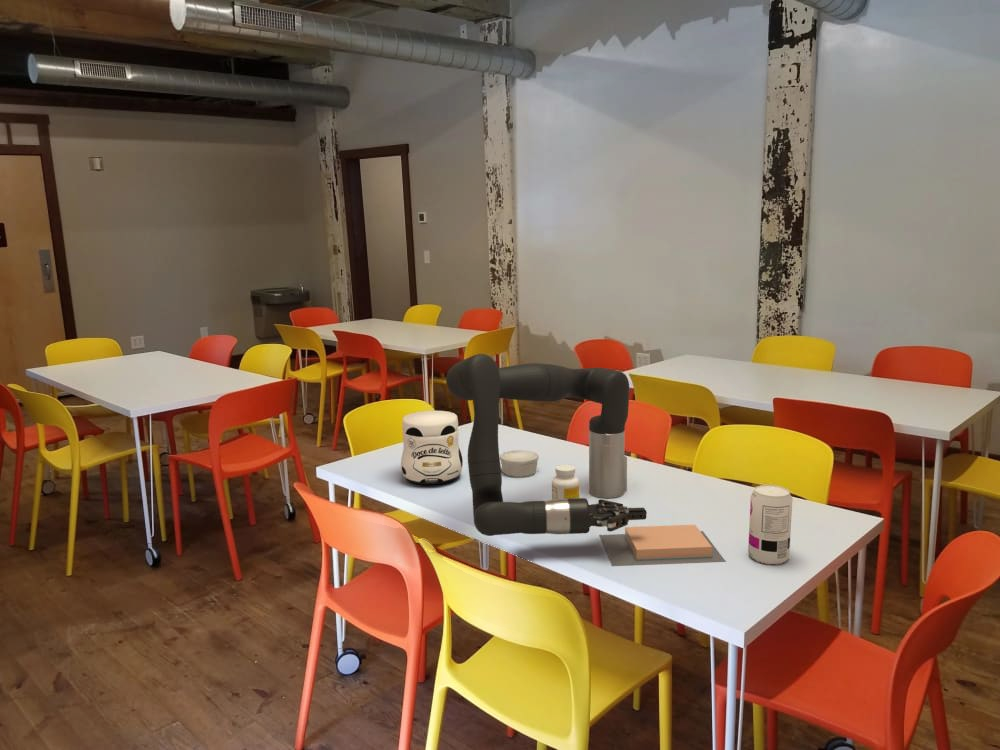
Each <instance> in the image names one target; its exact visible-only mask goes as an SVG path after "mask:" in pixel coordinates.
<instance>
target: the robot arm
mask: <svg viewBox="0 0 1000 750" xmlns="http://www.w3.org/2000/svg"><path fill="white" fill-rule="evenodd" d="M445 382H446V387H447V388H448V391H449V392H450V393H451V394H452V395H453V396H454V397H456V398H458V399H459V400H463V401H473V405H474V407H473V409H474V414H473V416H474V417H473V424H472V428H471V433H470V438H469V442H468V447H467V466H468V467H467V468H468V478H469V484H470V487H471V488H470V489H471V495H472V510H473V511H472V512H473V513H472V514H473V524H474V526H475V529H476V531H478V532H479V533H480V534H482V535H484V536H488V537H493V536H499V535H501V536H502V535H513V534H523V535H524V534H525V535H541V534H543V535H544V534H545V535H547V534H548V535H576V534H579V535H580V534H588V533H589V532H590V528H591V527H597V528H598V527H599V528H603V527H604V528H605V527H606V528H607V529H606V530H607V532H614V531H616V530H619V529H621V528H625V527H627V526H628V524H629V522H630V521H638V520H642V521H643V520H646V519H647V513H648V512H647V510H646V509H645V507H628V506H626V505H625V506H624V504H623V503H619V502H616V501H615V502H614V501H610V500H605V499H612V498H619V497H620V496H623V495H624V494H625V492H627V490H628V488H627V486H628V479H627V478H628V457H627V456H626V455H625V449H626V448H625V447H626V446H625V443H626V442H625V441H626V440H625V439H626V438H625V437H626V429H625V427H626V423H627V420H628V415H629V402H630V382H629V378H628V377H627V375H626V374H625V373H624V372H622V371H619V370H616V369H615V370H614V369H609V368H605V367H590V368H589V367H588V368H587V367H586V368H570V367H566V366H563V365H557V364H552V363H551V364H550V363H541V362H539V363H538V362H535V363H533V362H532V363H522V364H516V365H515V364H514V365H509V366H504V367H499V366H498V364H497V363H496V360H494V358H493V357H491V356H490V355H488V354H486V353H478V354H473V355H471V356H469V357H467V358H465V359H462V360H459V361H458V362H457V363H454V364H453V365H452V367H450V369H449V370H448V372H447V374H446V379H445ZM566 398H575V399H582V400H586V401H590V402H593V403H597V404H600V405H601V409H600V411H601V412H600V414H599V415H595V416H592V417H591V418H590V419H589V422H588V440H589V441H588V493H589V494H590V495H592V496H594V497H596V498H600V499H598V503H592V504H590V503H589V501H588V499H587V498H586V497H583V498H582V497H579V498H571V499H552V498H551V499H548V500H529V501H528V500H527V501H522V502H520V501H519V502H516V501H513V502H512V501H504V498H503V492H502V486H503V485H502V484H503V483H502V481H503V479H502V477H503V476H502V465H501V460H500V450H499V449H500V448H499V418H500V417H499V413H500V399H504V400H514V401H515V400H516V401H524V402H525V401H527V402H542V403H543V402H544V403H552V402H558V401H561V400H564V399H566ZM601 498H603V499H601Z"/></svg>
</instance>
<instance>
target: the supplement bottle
mask: <svg viewBox="0 0 1000 750" xmlns="http://www.w3.org/2000/svg"><path fill="white" fill-rule="evenodd" d="M575 473H576V467H575V466H573V465H572V464H571V465H570V464H560V465H557V466H555V475H556V476H553V478H552V479H551V500H552V499H571V498H580V479H579V478H578V476H575Z"/></svg>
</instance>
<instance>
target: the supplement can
mask: <svg viewBox="0 0 1000 750" xmlns="http://www.w3.org/2000/svg"><path fill="white" fill-rule="evenodd" d="M749 505H750V506H749V523H748V524H749V525H748V526H749V529H748V545H747V546H748V547H747V552H748V555H749V556H750V557H751V558H752V560H754V559H755V560H756V561H755V560H754V561H755V562H758V563H760V562H761V563H760V564H764V563H765V565H771V564H776V565H781V564H784V563H785V562H787V561H788V560H789V558H790V547H791V529H792V515H793V514H792V513H793V497H792V495H791V493H790V490H789V489H787V488H785V487H783V486H780V485H775V484H762V485H757V486H755V487H754V489H753V491H752V493H751V494H750V504H749ZM783 562H784V563H783Z"/></svg>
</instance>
